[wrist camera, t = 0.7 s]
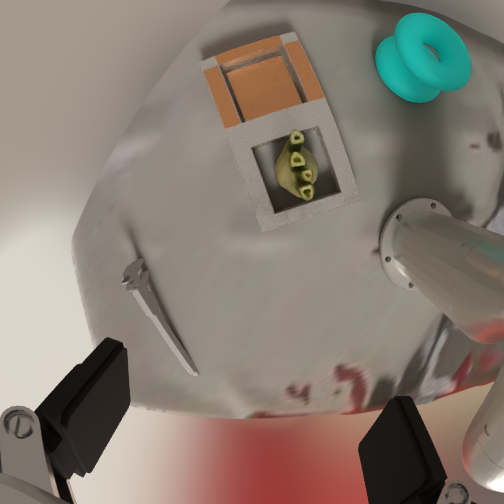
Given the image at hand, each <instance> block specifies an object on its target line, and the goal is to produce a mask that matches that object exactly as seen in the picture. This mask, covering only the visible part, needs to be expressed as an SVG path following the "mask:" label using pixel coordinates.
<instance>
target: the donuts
mask: <svg viewBox="0 0 504 504" xmlns="http://www.w3.org/2000/svg"><path fill="white" fill-rule="evenodd" d="M425 44H427V45H429V46H431V47H432V48H433V49H434V50H435V51H436V52H437V54H438V56H439V61H438V59H437V58H436V56H435V55H434V53H433V52H432V51H431V50H430V49H429V48H428V47H427V46H426V45H425ZM375 62H376V67H377V70H378V73H379V75H380V77H381V78H382V80H383V82H384V83H385V84H386V85H387V87H388V88H389V89H390V90H391V91H393V92H394V93H395V94H396V95H398V96H399V97H401V98H403V99H405V100H407V101H410V102H415V103H425V102H428V101H431V100H433V99H434V98H435V97H436V96H437V95H438V94H439V93H440V91H456V90H458V89H461V88H462V87H464V86H465V85H466V84H467V82H468V81H469V78H470V75H471V69H472V66H471V59H470V56H469V53H468V50H467V48H466V46H465V44H464V42H463V41H462V39H461V38H460V36H459V35H458V34H457V33H456V32H455V31H454V30H453V29H452V28H451V27H450V26H449V25H448V24H446V23H445V22H443V21H442V20H440V19H439V18H437V17H434V16H432V15H429V14H425V13H411V14H408V15H405V16H404V17H402V18H401V19H400V20H399V22H398V23H397V25H396V28H395V33H394V35H393V36H390V37H387V38H385V39H384V40H383V41H382V42H381V43H380V44H379V46H378V47H377V50H376V55H375Z"/></svg>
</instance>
